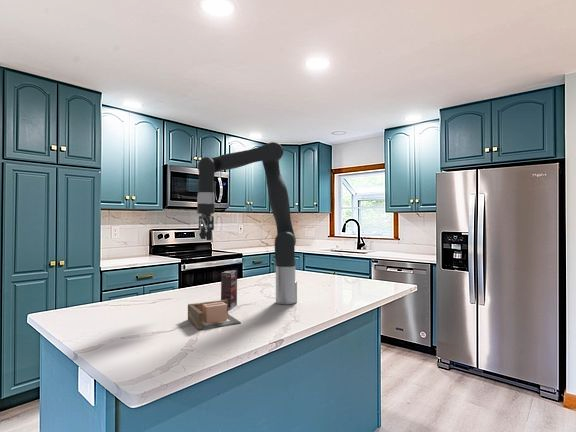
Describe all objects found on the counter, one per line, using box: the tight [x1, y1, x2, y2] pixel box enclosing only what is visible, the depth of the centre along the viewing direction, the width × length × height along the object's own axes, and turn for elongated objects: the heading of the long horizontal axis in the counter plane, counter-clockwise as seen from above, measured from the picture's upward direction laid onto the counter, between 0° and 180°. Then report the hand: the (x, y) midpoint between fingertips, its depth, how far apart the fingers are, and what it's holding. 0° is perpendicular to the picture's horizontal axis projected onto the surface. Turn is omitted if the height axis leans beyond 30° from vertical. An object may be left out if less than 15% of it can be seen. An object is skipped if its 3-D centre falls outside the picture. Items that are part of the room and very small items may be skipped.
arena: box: [187, 299, 242, 331], centre depth 137 cm, size 16×15×6 cm
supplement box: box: [220, 269, 238, 311], centre depth 159 cm, size 9×5×16 cm, turn 168°
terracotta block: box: [203, 302, 227, 323], centre depth 136 cm, size 5×8×6 cm, turn 121°
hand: (206, 239), depth 159 cm, fingers open, 8 cm apart
